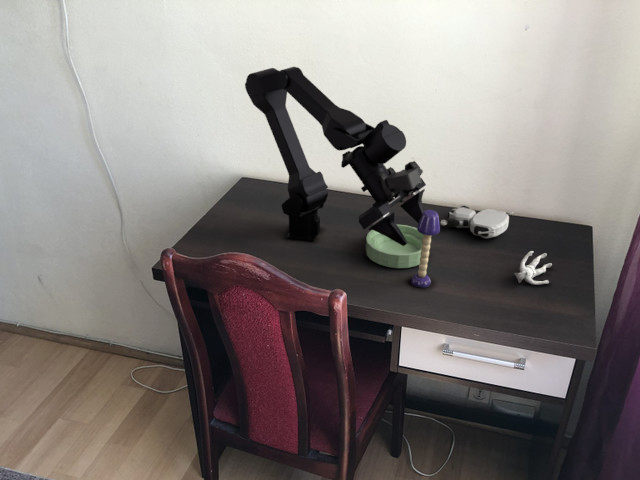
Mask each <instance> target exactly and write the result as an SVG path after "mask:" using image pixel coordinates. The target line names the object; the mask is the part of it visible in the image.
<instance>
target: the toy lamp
mask: <svg viewBox="0 0 640 480" xmlns="http://www.w3.org/2000/svg"><path fill="white" fill-rule="evenodd" d="M416 226H417V227H416V228H417V230H418V232H420V233H421V234H423V236H424V237H423V239H422V242H423V244H422V247H421V248H422V250H421V257H420V264H419V265H418V271H417V273H416V274H414V275H413V276H412V277H411V279H410V283H411V284H412V286H414V287H416V288H421V289H425V288H429V287H430V286H431V284H432V280H431V278H430V276H429V275H428V274H427V269H428V263H429V256H430V249H431V243H432V236H436V235H438V234H439V233H440V231H441V223H440V218H439V213H438V212H437V211H435V210H434V209H433V210H432V209H426V210H424V212H423V214H422V217H421V219H420V221H419V224H418V223H417V225H416Z"/></svg>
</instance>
